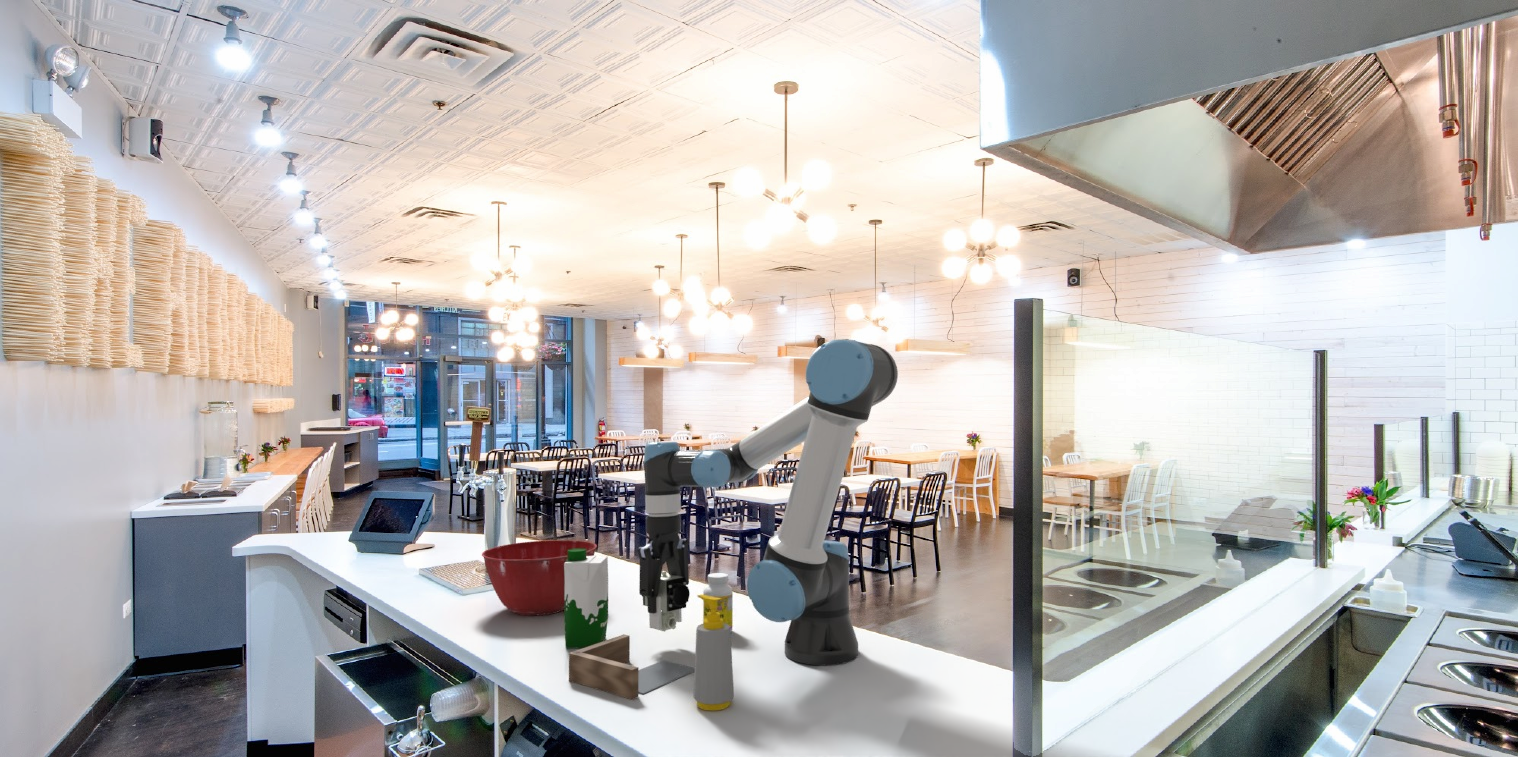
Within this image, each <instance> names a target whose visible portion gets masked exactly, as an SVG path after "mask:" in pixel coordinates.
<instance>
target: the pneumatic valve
mask: <svg viewBox="0 0 1518 757" xmlns="http://www.w3.org/2000/svg"><path fill="white" fill-rule="evenodd" d="M652 591H653V590H652ZM658 596H659V597H661V622H662V629H656V630H657V631H661V632H666V631H668V630H676V628H677V626H676V625H677V622H676V619H675V616H676V614H675V613H674V612H670V611H673V610H678V609H681V610H682V609H685V608H687V603H688V602H689V598H690V589H689V586H688V585H686V578H685V577H680V576H674V575H669V573H667V571H666V570H665V571H664V570H662V573H661V579H660V586H659V592H658ZM641 597H642V605H643V606H645V607H648V602H647V597H646V596H643V595H641Z"/></svg>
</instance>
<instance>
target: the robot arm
mask: <svg viewBox="0 0 1518 757" xmlns="http://www.w3.org/2000/svg"><path fill="white" fill-rule="evenodd" d="M894 359H895V358H894V357H893V356H892V355H891V353H890V352H888V351H887V350H886V349H885V348H883V347H881V346H879V345H876V344H871V343H866V342H862V341H857V340H855V339H849V338H843V339H831V340H830V341H826V342H825V343H823V344H822V345H820V346H818V347H817V348H816V349H815V350H814V352H813V353H812V354H811V356H810V357H809V359H808V361H807V365H806V366H805V367H806V368H805V380H806V384H807V386H808V391H809V396H807V397H805V398H804V399H802V400H801V401H799V402H798V403H796V404H794V405H793V406H792V407H790V408H789V409H787V410H786V411H784V412H782V413H781V414H779V415H778V416H776V417H774V418H773V419H771V420H770V421H768V422H766V423H765V424H764V425H762V426H761V427H759V428H757V429H756V430H754V431H752V432H751V433H750V434H748V435H747V436H745V437H743V438H742V439H741V440H739V441H737V442H736V443H734V444H733V445H731V446H729V447H727V448H720V449H719V448H718V449H704V450H703V449H702V450H681V449H680V444H679V443H678V442H677V441H662V442H661V441H660V442H659V441H658V442H649V443H646V445H645V446H644V453H643V454H644V455H643V456H644V457H643V468H644V469H643V470H644V489H645V490H644V493H645V495H644V499H645V504H644V505H645V513H646V514H647V516H646V517H645V532H646V534H647V535H648V540H647V544H646V545H645V546H639V547H638V548H637V553H638V557H639V586H638V587H639V589H638V590H639V595H640V596H642V595H643V596H646V597H647V602H648V606H647V613H648V615H649V616H648V617H649V622H648V623H649V629H654V630H657V629H662V622H661V612H662V610H661V597H659V596H658V592H659V586H660V579H661V573H662V571H663V568H664V565H665V563H666V568H667V572H668V573H667V574H669V575H674V576H680V577H685V578H686V586H688V585H689V583H690V575H689V558H688V556H689V555H688V549H689V539H686V538H680V535H679V533H680V532H681V531H682V516H681V514H680V512H681V511H682V504H681V503H682V502H681V499H682V498H681V487H690V488H691V487H692V488H695V487H696V488H697V487H698V488H706V489H709V488H715V487H716V488H718V487H719V488H720V487H722V486H724V485H725V484H730V483H741V482H742V483H743V482H745V481H748V480H751V479H753V478H754V477H755V476H756V474H757V473H758V471H759V470H760V469H761V468H763V467H765V466H766V465H768V464H770V463H771V462H772V461H775V460H776V459H777V458H779V457H781V456H783V455H784V454H786V453H788V452H789V451H791V450H793V449H794V448H796V447H798V446H799V445H801V444H802V443H804V444H803V447H802V450H801V453H800V459H799V461H798V464H797V468H796V472H795V474H794V479H793V483H792V486H791V490H790V494H789V496H788V500H787V504H786V506H785V510H784V514H783V518H782V522H781V524H780V527H779V528H780V529H779V532H778V533H777V534H775V535H773V536H771V537H770V538H769V540H768V542H767V545H766V548H765V552H764V556H763V560H760V561H759V562H757V563H756V564H755V565H753V567H752V568H751V569H750V570H749V573H748V576H747V582H746V588H747V590H746V591H747V595H748V598H749V600H751V603H752V606H753V608H754V609H755V610H756V612H758V613H759V615H760V616H762V617H763V618H765V619H767V621H768V620H769V621H771V622H774V623H786V622H789V621H790V622H789V627H788V630H787V633H786V636H785V641H784V655H785V656H786V657H787V658H788V659H790V660H791V661H794V662H796V663H797V662H798V663H800V664H807V665H811V666H812V665H813V666H832V665H835V666H836V665H842V664H845V663H849V662H852V661H854V660H856V659H857V658H858V656H859V641H858V638H857V636H856V632H855V629H854V626H853V623H852V620H851V617H850V557H849V548H848V546H847V545H846V543H844V542H841V541H835V540H825V539H826V536H827V532H828V529H829V525H830V523H831V522H830V521H831V519H832V514H833V511H834V509H835V505H836V501H837V498H838V494H839V490H840V487H841V483H842V480H843V477H844V474H845V470H846V466H847V464H848V460H849V456H850V453H851V450H852V446H853V443H854V439H855V435H856V433H857V428H858V427H860V426H861V425H863V424H865V423H867V422H868V420H869V418H870V414H871V410H872V407H874V406H876V405H878V404H879V403H882V402H883V401H884V400H886V399H887V398H888V397H889V396H890V395H891V394H893V391H894V390H895V388H896V386H897V383H898V375H899V371H898V367H897V363H896V361H895V360H894ZM652 590H653V591H652ZM670 612H674V613H675V614H676V616H675V619H676V623H682V621H683V619H682V609H678V610H673V611H670Z"/></svg>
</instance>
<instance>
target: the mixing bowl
mask: <svg viewBox="0 0 1518 757" xmlns="http://www.w3.org/2000/svg"><path fill="white" fill-rule="evenodd" d="M597 546H598V545H597V543H595V542H591V541H585V540H577V539H576V540H573V539H571V540H570V539H556V540H555V539H551V540H549V539H548V540H536V541H532V540H531V541H524V542H517V543H510V544H503V545H498V546H495V547H491V548H488V549H486V550H484V551H483V552H482V553H481V556H482V557H483V561H484V564H485V567H486V571H487V575H488V578H489V581H490V584H491V585H492V587H493V590H494V591H495V594H496V595H497V597H498V600H499V601H500V602H501V604H502V605H503V606H504V607H505V608H507V609H508V610H509V611H511V612H513V613H515V614H516V615H519V616H521V615H522V616H544V615H545V616H546V615H549V614H555V613H559V612H562V611H564V606H565V574H564V563H565V562H566V560H567V551H568V550H569V549H575V548H583V549H586V556H595V552H596V549H597Z"/></svg>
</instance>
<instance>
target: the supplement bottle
mask: <svg viewBox="0 0 1518 757" xmlns="http://www.w3.org/2000/svg"><path fill="white" fill-rule="evenodd" d="M707 582H708V585H706V586H705V587H704V589H703V591H702V592H703V593H702V595H707V596H712V597H716V598H721V599H720V600H717V608H716V612H718V613H720V618H721V619H723V621H724V623H726V624H728V625H729V626H730V632H731V633H732V631H733V616H734V615H733V601H734V600H733V588H732V587H731V585H729V584H728V582H729V574H728V573H724V572H715V573H714V572H713V573H709V574H707ZM702 601H703V602H702V603H703V604H702V605H703V612H702V613H703V614H702V616H703V617H702V618H703V620H702V622H703V621H704V619H707V613H709V612H711V609H710V607H709V603H706V602H705V601H704V600H702Z"/></svg>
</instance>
